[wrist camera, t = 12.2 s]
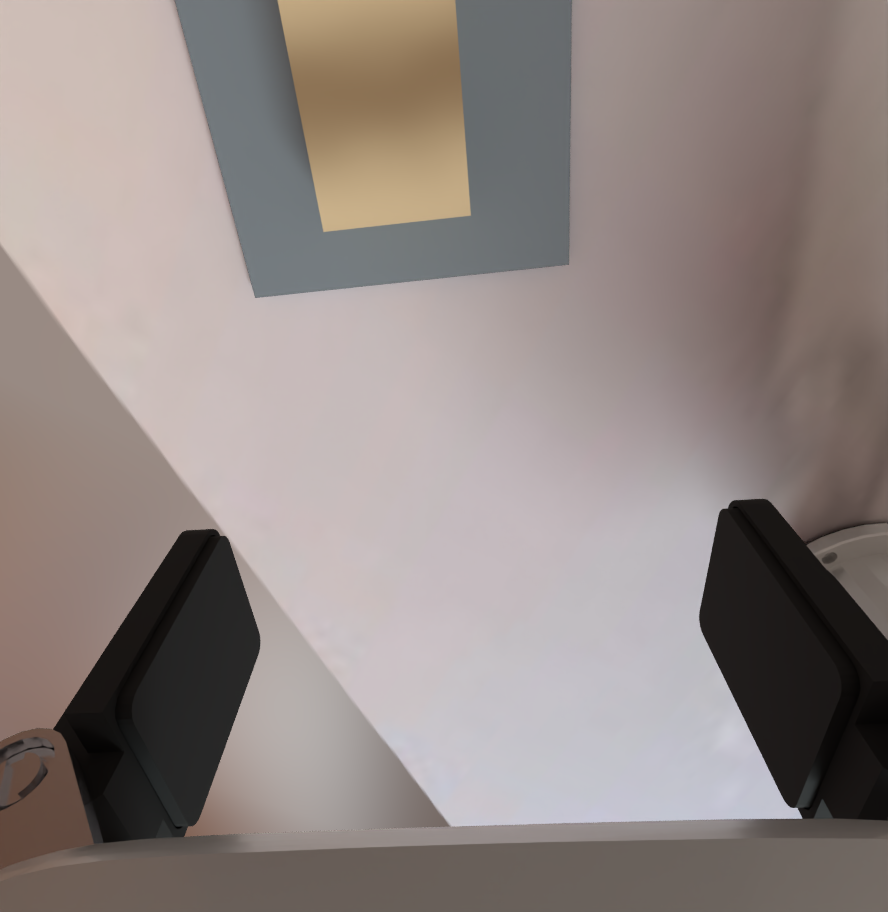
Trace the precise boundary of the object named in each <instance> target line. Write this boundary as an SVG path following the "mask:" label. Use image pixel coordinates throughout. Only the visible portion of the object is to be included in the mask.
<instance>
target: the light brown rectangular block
mask: <svg viewBox="0 0 888 912" xmlns="http://www.w3.org/2000/svg"><path fill="white" fill-rule="evenodd" d="M278 5H279V11H280V16H281V21H282V26H283V31H284V36H285V41H286V46H287V51H288V56H289V61H290V66H291V71H292V76H293V81H294V86H295V91H296V96H297V101H298V106H299V111H300V116H301V121H302V126H303V131H304V136H305V141H306V146H307V152H308V157H309V162H310V167H311V172H312V177H313V182H314V187H315V192H316V197H317V202H318V207H319V212H320V217H321V222H322V227H323V232H328V231H337V230H346V229H355V228H364V227H373V226H382V225H391V224H400V223H409V222H418V221H427V220H436V219H445V218H454V217H463V216H471V211H470V197H469V183H468V169H467V156H466V142H465V128H464V114H463V100H462V87H461V73H460V59H459V45H458V31H457V18H456V4H455V0H278Z"/></svg>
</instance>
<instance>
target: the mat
mask: <svg viewBox="0 0 888 912" xmlns="http://www.w3.org/2000/svg"><path fill="white" fill-rule="evenodd" d="M175 3H176V7H177V10H178V14H179V18H180V21H181V25H182V29H183V32H184V36H185V40H186V44H187V47H188V51H189V55H190V58H191V62H192V66H193V69H194V73H195V77H196V81H197V84H198V88H199V92H200V95H201V99H202V103H203V106H204V110H205V114H206V118H207V121H208V125H209V129H210V132H211V136H212V140H213V143H214V147H215V151H216V154H217V158H218V162H219V166H220V169H221V173H222V177H223V180H224V184H225V188H226V191H227V195H228V199H229V203H230V206H231V210H232V214H233V217H234V221H235V225H236V228H237V232H238V236H239V240H240V243H241V247H242V251H243V254H244V258H245V262H246V265H247V269H248V273H249V277H250V280H251V284H252V288H253V291H254V295H255V298H259V297H268V296H278V295H287V294H297V293H306V292H315V291H325V290H334V289H344V288H353V287H363V286H372V285H381V284H391V283H400V282H410V281H419V280H429V279H438V278H447V277H457V276H466V275H476V274H485V273H495V272H504V271H513V270H523V269H532V268H542V267H551V266H561V265H569V197H570V108H571V19H572V0H455V4H456V18H457V31H458V45H459V59H460V73H461V87H462V100H463V114H464V128H465V142H466V156H467V169H468V183H469V197H470V211H471V216H463V217H454V218H445V219H436V220H427V221H418V222H409V223H400V224H391V225H382V226H373V227H364V228H355V229H346V230H337V231H328V232H323V227H322V222H321V217H320V212H319V207H318V202H317V197H316V192H315V187H314V182H313V177H312V172H311V167H310V162H309V157H308V152H307V146H306V141H305V136H304V131H303V126H302V121H301V116H300V111H299V106H298V101H297V96H296V91H295V86H294V81H293V76H292V71H291V66H290V61H289V56H288V51H287V46H286V41H285V36H284V31H283V26H282V21H281V16H280V11H279V5H278V0H175Z"/></svg>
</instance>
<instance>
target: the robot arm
mask: <svg viewBox="0 0 888 912" xmlns="http://www.w3.org/2000/svg"><path fill="white" fill-rule="evenodd" d="M699 621H700V627H701V630H702V633H703V635H704V637H705V639H706V641H707V643H708V646H709V648H710V650H711V652H712V654H713V656H714V658H715V660H716V662H717V664H718V666H719V668H720V670H721V672H722V674H723V676H724V678H725V680H726V682H727V685H728V687H729V689H730V691H731V693H732V695H733V697H734V699H735V701H736V703H737V705H738V707H739V709H740V711H741V713H742V715H743V717H744V719H745V721H746V723H747V726H748V728H749V730H750V732H751V734H752V736H753V738H754V740H755V742H756V744H757V746H758V748H759V750H760V752H761V754H762V756H763V758H764V760H765V762H766V764H767V767H768V769H769V771H770V773H771V775H772V777H773V779H774V781H775V783H776V785H777V787H778V789H779V791H780V793H781V795H782V797H783V799H784V801H785V802H786V803H787V804H788V806H790V807H791V808H798V810H799V812H800V814H801V816H802V818H803V819H724V820H683V821H642V822H601V823H562V824H528V825H493V826H460V827H427V828H398V829H397V828H396V829H365V830H339V831H312V832H311V831H309V832H283V833H253V834H229V835H211V836H193V837H192V836H191V837H184V836H185V833H186V830H187V827H188V826H193V825H195V824H196V823H197V821H198V819H199V817H200V815H201V812H202V809H203V807H204V804H205V801H206V798H207V796H208V793H209V790H210V787H211V785H212V782H213V779H214V776H215V773H216V771H217V768H218V765H219V762H220V760H221V757H222V754H223V751H224V748H225V745H226V742H227V740H228V737H229V735H230V732H231V729H232V726H233V723H234V721H235V718H236V715H237V712H238V709H239V707H240V704H241V701H242V698H243V696H244V693H245V690H246V687H247V684H248V682H249V679H250V676H251V673H252V671H253V668H254V665H255V662H256V659H257V656H258V654H259V650H260V634H259V631H258V628H257V625H256V622H255V619H254V615H253V612H252V609H251V606H250V603H249V600H248V597H247V594H246V591H245V588H244V585H243V582H242V579H241V576H240V573H239V570H238V567H237V564H236V561H235V558H234V554H233V551H232V548H231V546H230V542H229V540H228V538H227V537H226V536H220V535H219V533H218V532H217V531H216V530H214V529H206V530H187V531H184V532H182V533H181V534H180V536H179V537H178V539H177V540H176V542H175V543H174V545H173V546H172V548H171V550H170V551H169V553H168V554H167V556H166V557H165V559H164V560H163V562H162V563H161V565H160V566H159V568H158V569H157V571H156V572H155V574H154V576H153V577H152V579H151V580H150V582H149V583H148V585H147V586H146V588H145V590H144V591H143V592H142V594H141V596H140V597H139V599H138V600H137V602H136V603H135V605H134V606H133V608H132V609H131V611H130V612H129V614H128V615H127V617H126V618H125V620H124V622H123V623H122V624H121V626H120V628H119V629H118V631H117V632H116V634H115V635H114V637H113V638H112V640H111V641H110V643H109V644H108V646H107V647H106V649H105V651H104V652H103V654H102V655H101V657H100V658H99V660H98V661H97V663H96V664H95V666H94V668H93V669H92V671H91V672H90V674H89V675H88V677H87V678H86V680H85V681H84V683H83V684H82V686H81V687H80V689H79V691H78V692H77V694H76V695H75V697H74V698H73V700H72V701H71V703H70V704H69V706H68V707H67V709H66V710H65V712H64V714H63V715H62V717H61V718H60V720H59V721H58V723H57V724H56V726H55V727H54V729H47V728H46V729H45V728H36V729H31V730H27V731H22V732H20V733H17V734H15V735H13V736H10V737H8V738H6V739H4V740H2V741H1V742H0V912H888V523H880V524H869V525H862V526H857V527H853V528H848V529H844V530H840V531H838V532H835V533H832V534H829V535H826V536H824V537H821V538H819V539H817V540H815V541H813V542H811V543H809V544H807V545H806V544H805V543H804V542H803V541H802V539H801V538H800V537H799V536H798V535H797V533H796V532H795V531H794V530H793V529H792V527H791V526H790V525H789V524H788V523H787V521H786V520H785V519H784V518H783V517H782V515H781V514H780V513H779V512H778V511H777V509H776V508H775V507H774V506H773V505H772V503H771V502H769V501H768V500H766V499H751V500H734V501H732V502H731V503H730V504H729V507H728V509H722V510H721V511H720V513H719V517H718V522H717V527H716V532H715V537H714V542H713V547H712V552H711V557H710V562H709V567H708V573H707V578H706V583H705V588H704V593H703V598H702V603H701V608H700V614H699Z"/></svg>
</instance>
